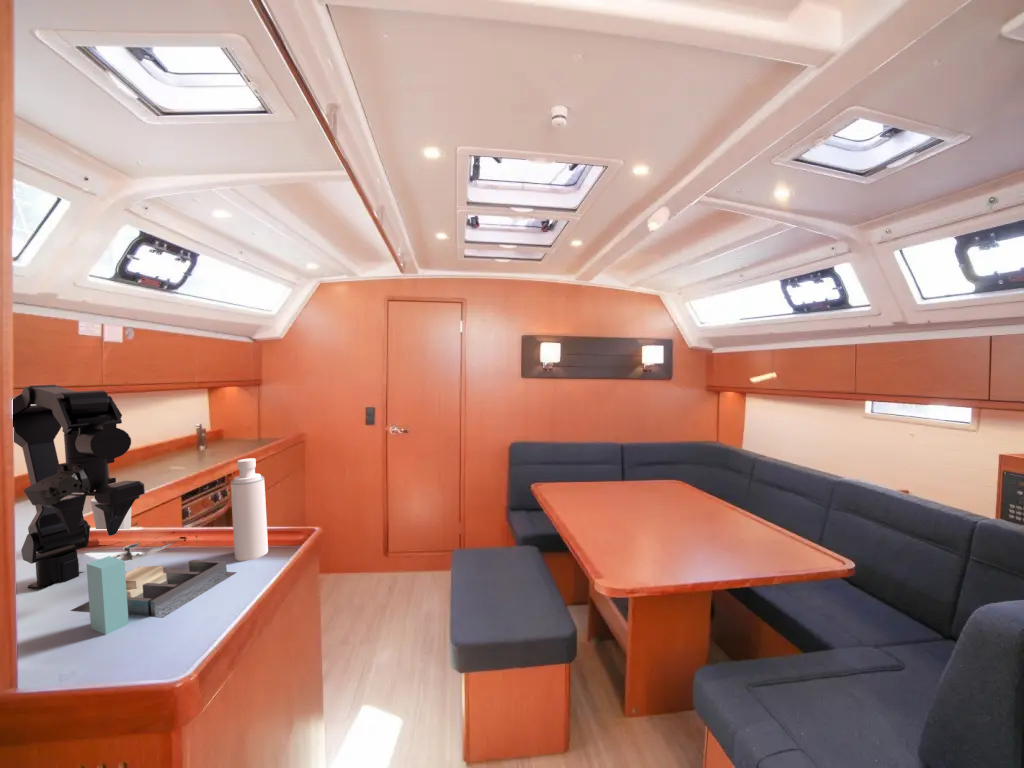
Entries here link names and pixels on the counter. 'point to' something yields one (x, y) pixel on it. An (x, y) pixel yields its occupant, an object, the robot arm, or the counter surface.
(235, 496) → the white bottle
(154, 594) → the tray
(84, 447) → the robot arm
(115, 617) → the teal block
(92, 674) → the counter surface
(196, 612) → the counter surface
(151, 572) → the upper offcut
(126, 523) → the cup
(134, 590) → the lower offcut
